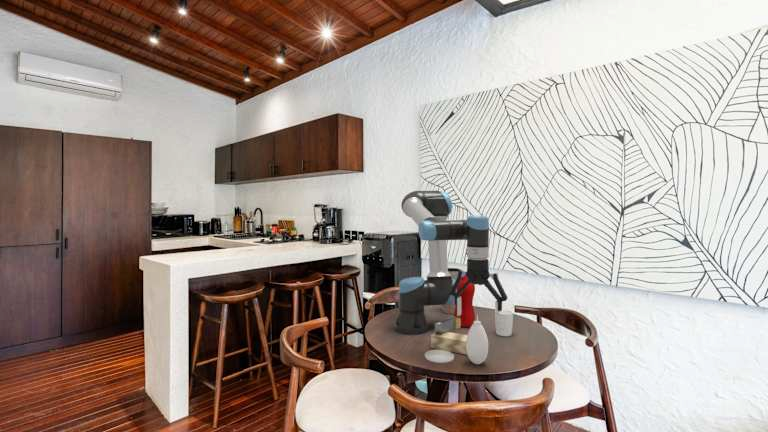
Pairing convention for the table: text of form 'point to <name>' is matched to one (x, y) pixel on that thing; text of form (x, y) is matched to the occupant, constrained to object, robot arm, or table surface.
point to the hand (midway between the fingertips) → (477, 317)
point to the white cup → (504, 323)
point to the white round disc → (439, 356)
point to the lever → (447, 325)
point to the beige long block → (449, 342)
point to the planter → (451, 307)
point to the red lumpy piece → (466, 304)
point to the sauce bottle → (477, 343)
